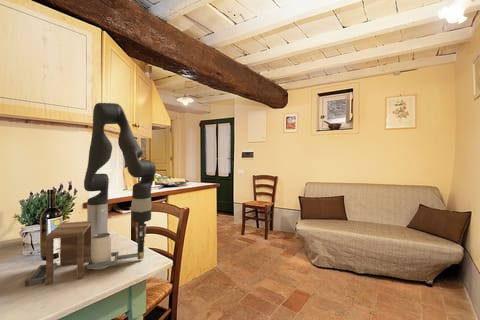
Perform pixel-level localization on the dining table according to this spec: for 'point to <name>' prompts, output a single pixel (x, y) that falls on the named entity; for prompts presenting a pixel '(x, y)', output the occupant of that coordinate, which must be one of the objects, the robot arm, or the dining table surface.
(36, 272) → the pit trap
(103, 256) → the can
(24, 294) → the dining table surface
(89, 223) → the brown wooden stool
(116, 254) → the lever handle
